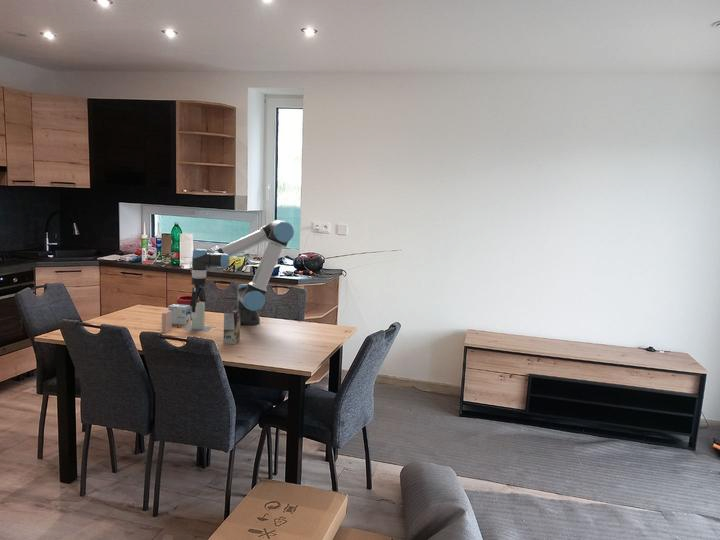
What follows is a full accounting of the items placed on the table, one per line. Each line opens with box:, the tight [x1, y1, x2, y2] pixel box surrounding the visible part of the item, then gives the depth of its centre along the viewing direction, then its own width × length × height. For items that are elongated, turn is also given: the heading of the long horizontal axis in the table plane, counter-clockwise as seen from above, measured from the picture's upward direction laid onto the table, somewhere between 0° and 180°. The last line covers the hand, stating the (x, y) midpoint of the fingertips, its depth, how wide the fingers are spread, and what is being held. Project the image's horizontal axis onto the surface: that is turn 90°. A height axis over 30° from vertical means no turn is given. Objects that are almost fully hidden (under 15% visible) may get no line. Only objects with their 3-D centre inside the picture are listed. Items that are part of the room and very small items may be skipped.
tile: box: [161, 309, 173, 334], centre depth 293 cm, size 2×9×11 cm, turn 0°
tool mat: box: [182, 324, 214, 333], centre depth 303 cm, size 14×12×1 cm
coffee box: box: [222, 309, 241, 345], centre depth 280 cm, size 9×6×16 cm
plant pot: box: [176, 295, 201, 319], centre depth 332 cm, size 13×13×12 cm
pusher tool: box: [191, 302, 206, 329], centre depth 302 cm, size 6×4×14 cm, turn 89°
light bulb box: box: [167, 303, 191, 326], centre depth 313 cm, size 11×7×11 cm, turn 84°
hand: (197, 315), depth 302 cm, fingers open, 13 cm apart
